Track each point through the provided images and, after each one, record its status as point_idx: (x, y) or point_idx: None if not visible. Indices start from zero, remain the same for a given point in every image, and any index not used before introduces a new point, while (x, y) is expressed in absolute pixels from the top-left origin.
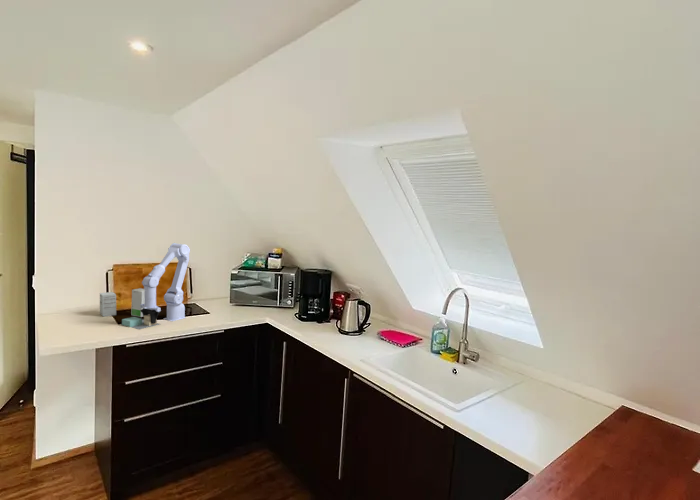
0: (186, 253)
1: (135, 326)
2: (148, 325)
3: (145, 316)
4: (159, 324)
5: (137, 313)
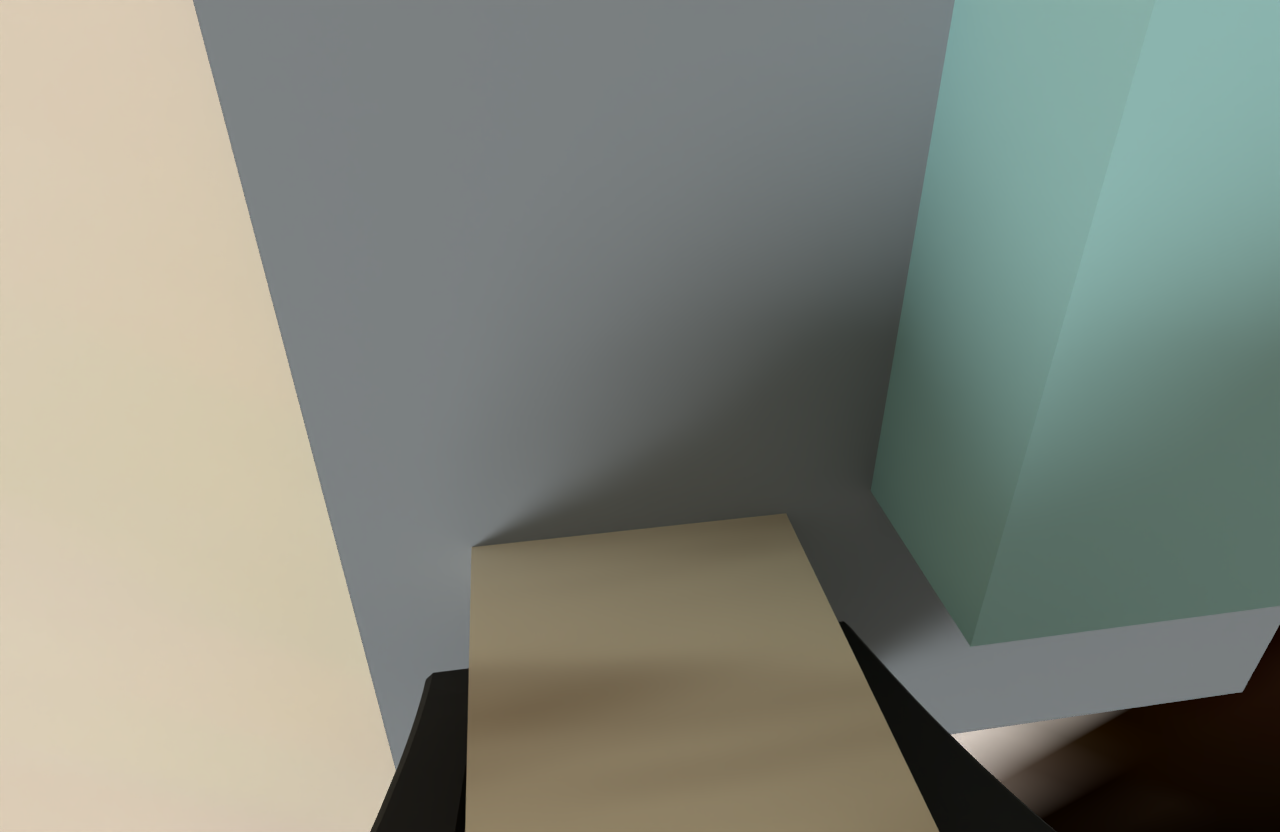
0: None
1: (825, 166)
2: (520, 546)
3: (804, 828)
4: None
5: None
